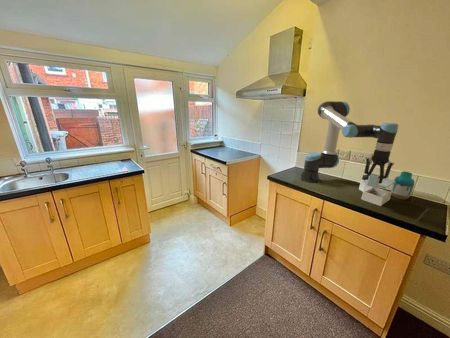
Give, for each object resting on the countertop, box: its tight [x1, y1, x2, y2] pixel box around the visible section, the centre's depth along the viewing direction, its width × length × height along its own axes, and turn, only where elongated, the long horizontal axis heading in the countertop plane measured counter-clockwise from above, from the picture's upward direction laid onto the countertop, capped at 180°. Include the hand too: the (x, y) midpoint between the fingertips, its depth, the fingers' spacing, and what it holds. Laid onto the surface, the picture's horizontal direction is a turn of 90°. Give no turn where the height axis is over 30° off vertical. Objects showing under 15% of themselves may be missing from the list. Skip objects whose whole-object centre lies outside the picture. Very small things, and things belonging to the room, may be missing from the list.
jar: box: [358, 174, 371, 193], centre depth 141 cm, size 9×8×12 cm
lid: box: [363, 173, 396, 189], centre depth 122 cm, size 12×22×8 cm, turn 124°
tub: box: [360, 187, 392, 207], centre depth 128 cm, size 11×16×6 cm
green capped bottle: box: [390, 171, 415, 201], centre depth 130 cm, size 11×11×19 cm
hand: (372, 186), depth 119 cm, fingers closed on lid, 4 cm apart
